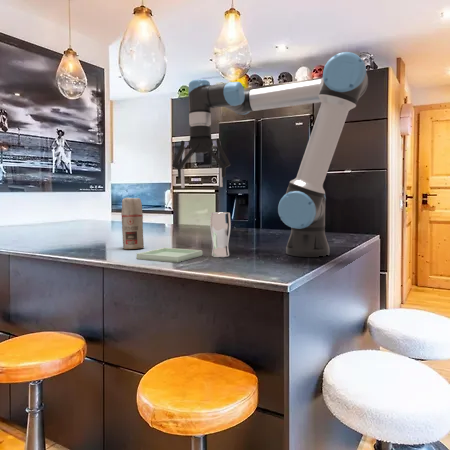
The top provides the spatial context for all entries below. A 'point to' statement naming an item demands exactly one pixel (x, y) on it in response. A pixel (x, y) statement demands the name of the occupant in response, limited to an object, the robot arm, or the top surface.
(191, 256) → the tray
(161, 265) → the top surface
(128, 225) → the spray can
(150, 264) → the top surface
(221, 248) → the beer glass
